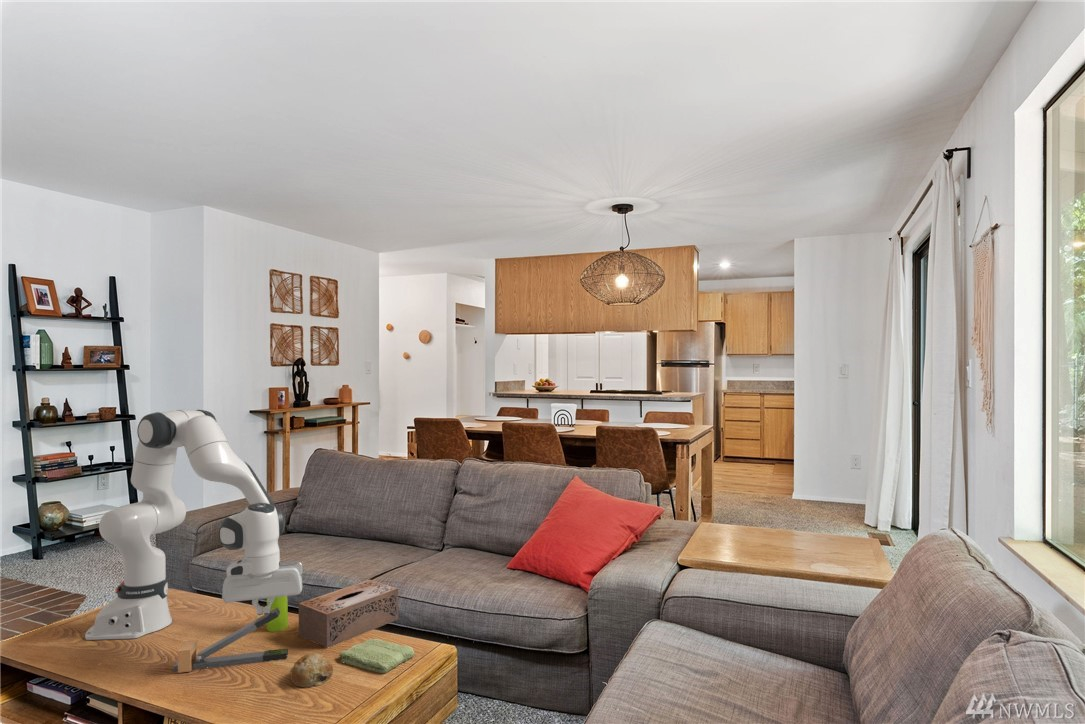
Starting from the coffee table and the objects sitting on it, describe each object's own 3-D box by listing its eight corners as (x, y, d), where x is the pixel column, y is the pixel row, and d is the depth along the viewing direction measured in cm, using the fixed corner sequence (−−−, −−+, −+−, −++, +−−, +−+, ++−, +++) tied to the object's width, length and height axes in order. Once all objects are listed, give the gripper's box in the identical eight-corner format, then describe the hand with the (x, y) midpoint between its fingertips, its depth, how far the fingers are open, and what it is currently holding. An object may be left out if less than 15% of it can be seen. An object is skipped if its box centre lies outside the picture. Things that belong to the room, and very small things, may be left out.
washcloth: (370, 644, 185) (370, 633, 185) (417, 657, 176) (417, 646, 176) (335, 662, 174) (335, 651, 174) (383, 678, 165) (383, 665, 165)
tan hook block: (178, 672, 167) (177, 651, 167) (184, 662, 173) (184, 641, 173) (190, 671, 168) (190, 649, 168) (197, 661, 174) (196, 640, 174)
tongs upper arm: (196, 663, 170) (193, 658, 169) (200, 657, 173) (197, 652, 173) (278, 616, 175) (275, 611, 174) (280, 612, 178) (277, 607, 178)
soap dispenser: (281, 621, 201) (281, 558, 201) (290, 627, 196) (290, 562, 196) (262, 627, 197) (262, 562, 197) (271, 633, 192) (271, 567, 192)
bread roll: (302, 705, 158) (311, 679, 156) (279, 678, 163) (287, 652, 161) (334, 687, 167) (343, 663, 165) (311, 662, 172) (319, 638, 170)
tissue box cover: (327, 649, 181) (326, 614, 181) (298, 636, 190) (298, 603, 190) (398, 619, 202) (397, 588, 202) (369, 609, 211) (369, 579, 211)
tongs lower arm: (173, 672, 168) (173, 665, 168) (177, 666, 171) (177, 660, 171) (286, 659, 175) (286, 652, 175) (288, 653, 178) (287, 647, 178)
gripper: (303, 556, 181) (305, 605, 181) (225, 563, 176) (226, 614, 176) (301, 563, 175) (302, 613, 175) (219, 570, 170) (220, 622, 170)
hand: (263, 613), depth 175 cm, fingers closed
